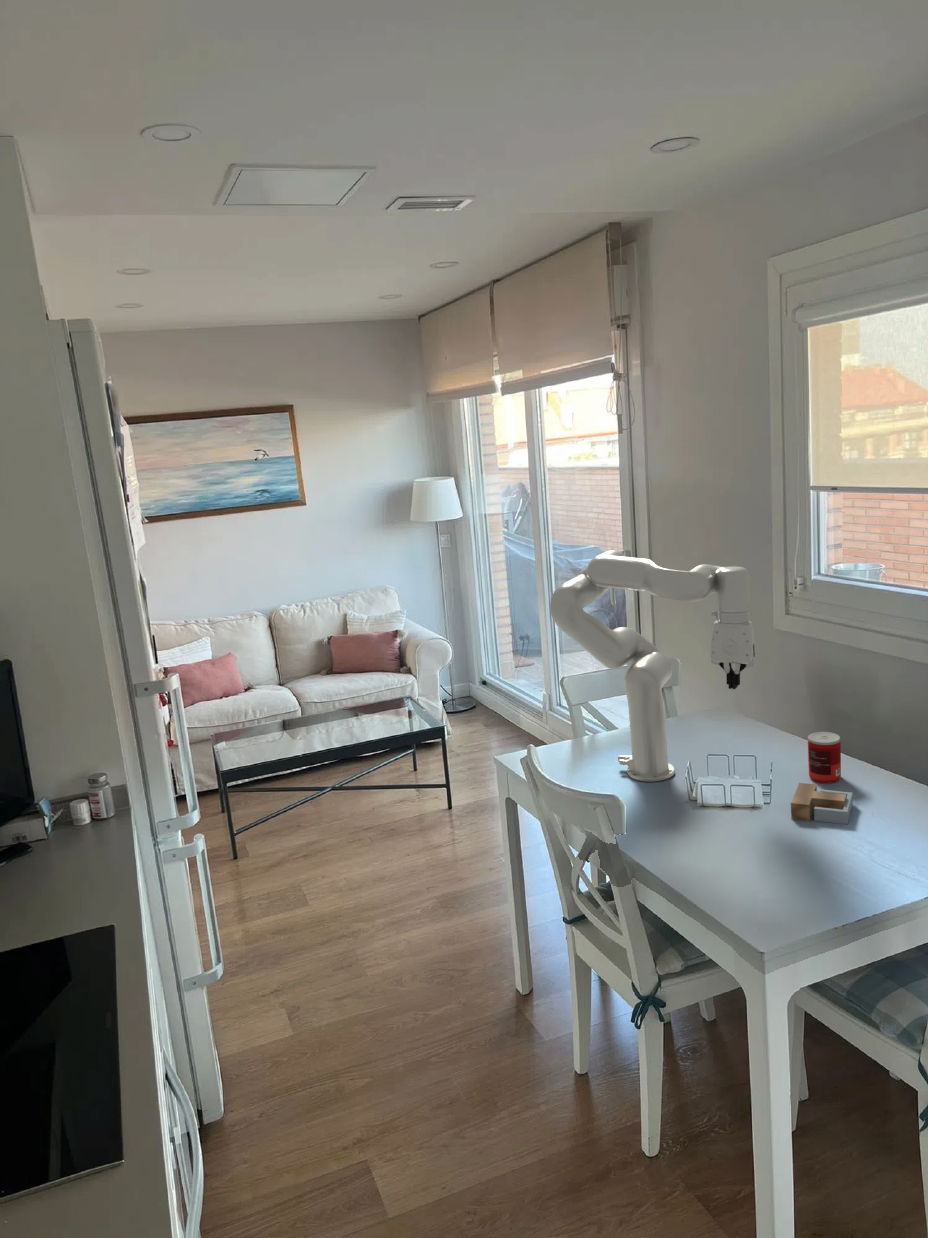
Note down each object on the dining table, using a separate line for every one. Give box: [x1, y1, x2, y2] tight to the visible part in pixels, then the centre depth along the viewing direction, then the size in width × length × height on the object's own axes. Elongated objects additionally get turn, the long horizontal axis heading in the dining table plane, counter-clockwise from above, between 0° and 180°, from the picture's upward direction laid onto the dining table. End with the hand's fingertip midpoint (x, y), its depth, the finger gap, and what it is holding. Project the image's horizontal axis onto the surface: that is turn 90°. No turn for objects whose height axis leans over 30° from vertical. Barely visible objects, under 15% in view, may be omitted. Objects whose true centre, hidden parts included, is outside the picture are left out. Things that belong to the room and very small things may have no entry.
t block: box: [790, 782, 846, 822], centre depth 210 cm, size 11×12×4 cm
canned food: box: [807, 731, 842, 784], centre depth 227 cm, size 8×8×11 cm
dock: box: [813, 789, 854, 825], centre depth 209 cm, size 7×11×3 cm, turn 151°
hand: (733, 687), depth 226 cm, fingers closed
